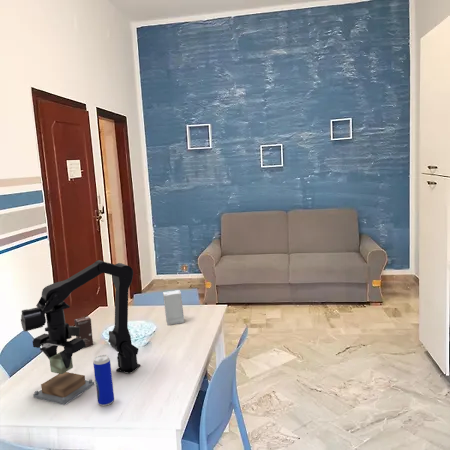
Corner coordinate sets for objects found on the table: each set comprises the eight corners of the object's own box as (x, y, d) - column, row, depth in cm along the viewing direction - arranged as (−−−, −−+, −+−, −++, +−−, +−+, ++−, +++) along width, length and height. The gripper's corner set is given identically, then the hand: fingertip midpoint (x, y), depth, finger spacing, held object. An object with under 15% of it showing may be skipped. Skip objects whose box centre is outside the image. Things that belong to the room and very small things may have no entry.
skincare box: (182, 319, 221) (180, 289, 219) (184, 323, 215) (182, 292, 213) (165, 321, 219) (162, 291, 217) (166, 325, 213) (163, 294, 211)
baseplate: (94, 384, 161) (93, 379, 160) (64, 404, 148) (63, 399, 148) (64, 378, 167) (63, 373, 167) (33, 397, 155) (32, 392, 154)
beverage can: (99, 398, 151) (94, 355, 149) (115, 397, 151) (110, 353, 149) (96, 407, 146) (91, 362, 143) (113, 405, 146) (108, 360, 144)
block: (73, 367, 158) (71, 353, 157) (62, 374, 153) (60, 360, 152) (62, 365, 160) (60, 352, 159) (51, 372, 155) (49, 358, 155)
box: (79, 349, 193) (76, 321, 191) (76, 346, 196) (73, 319, 195) (94, 345, 196) (91, 318, 194) (90, 342, 200) (87, 315, 198)
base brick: (85, 383, 160) (84, 375, 159) (64, 397, 151) (63, 389, 150) (64, 379, 164) (63, 371, 164) (42, 392, 155) (41, 384, 155)
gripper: (94, 317, 157) (99, 360, 159) (54, 312, 165) (59, 353, 168) (70, 329, 147) (76, 375, 150) (28, 323, 155) (34, 367, 158)
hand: (61, 366), depth 156 cm, fingers closed on block, 5 cm apart
